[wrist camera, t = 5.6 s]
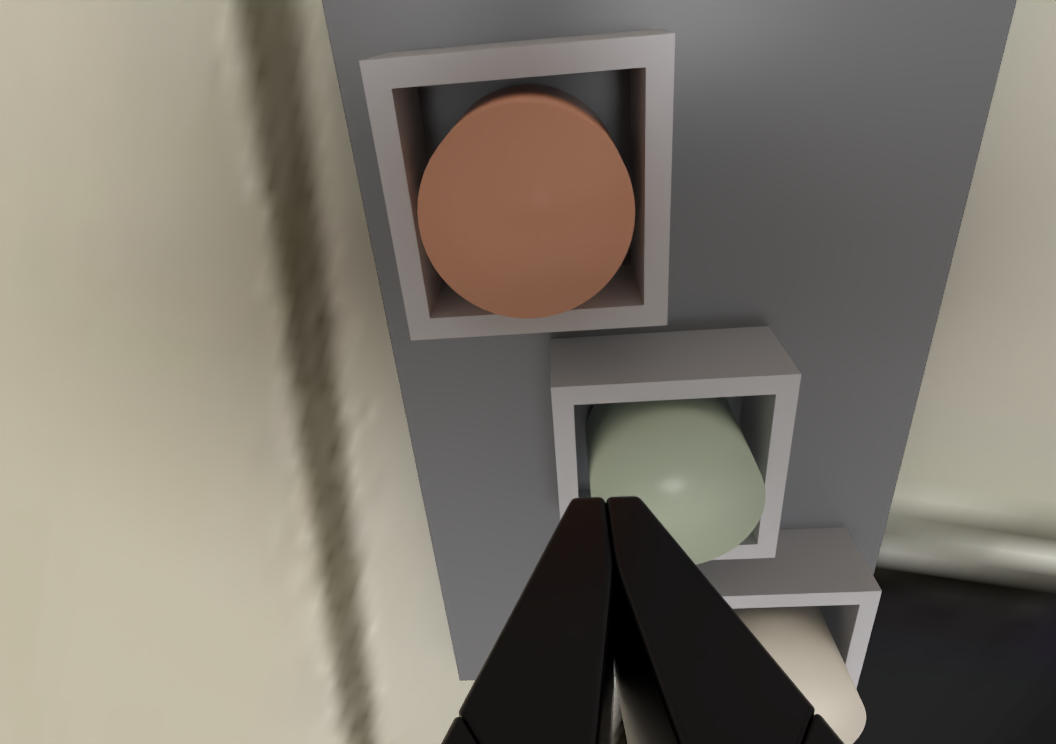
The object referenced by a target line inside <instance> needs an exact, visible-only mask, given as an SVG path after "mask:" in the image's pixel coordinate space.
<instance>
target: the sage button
mask: <svg viewBox="0 0 1056 744" xmlns="http://www.w3.org/2000/svg"><path fill="white" fill-rule="evenodd" d="M586 445H587V456H588V468H589V479H590V490H591V497H601V498H603V499H604V500H605V503H606V500H607V499H608V498H609V497H618V496H637V497H639V498H640V499H641V500H642V501H643V502H644V503H645V504H646V505H647V507H648V508H649V509H650V510H651V511H652V513H653V514H654V515H655V516H656V518H657V519H658V520H659V521H660V522H661V524H662V525H663V526H664V527H665V528H666V530H667V531H668V532H669V533H670V534H671V536H672V537H673V538H674V539H675V540H676V542H677V543H678V544H679V545H680V546H681V548H682V549H683V550H684V551H685V552H686V554H687V555H688V556H689V557H690V558H691V560H692V561H693V562H694V563H695V565H697V564H700V563H704V562H707V561H710V560H713V559H715V558H718V557H720V556H722V555H724V554H726V553H727V552H729V551H730V550H732V549H734V548H735V547H736V546H738V545H739V544H740V543H741V542H743V541H744V540H745V539H746V538H747V537H748V536H749V535H750V533H751V532H752V531H753V529H754V528H755V527H756V525H757V523H758V522H759V520H760V518H761V515H762V513H763V510H764V505H765V496H766V492H765V484H764V481H763V478H762V475H761V473H760V471H759V468H758V466H757V464H756V462H755V460H754V458H753V455H752V453H751V451H750V449H749V447H748V444H747V442H746V440H745V438H744V436H743V433H742V431H741V429H740V427H739V425H738V422H737V420H736V418H735V416H734V414H733V411H732V409H731V407H730V405H729V403H728V401H727V399H726V397H715V398H696V399H677V400H658V401H639V402H620V403H601V404H594V406H593V408H592V410H591V412H590V414H589V417H588V420H587V425H586Z"/></svg>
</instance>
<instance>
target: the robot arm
mask: <svg viewBox="0 0 1056 744" xmlns="http://www.w3.org/2000/svg"><path fill="white" fill-rule="evenodd" d="M614 667H615V677H616V684H617V690H618V696H619V702H620V707H621V712H622V717H623V722H624V727H625V732H626V737H627V743H628V744H844V743H843V741H842V740H841V739H840V738H839V737H838V735H837V734H836V733H835V732H834V730H833V729H832V728H831V727H830V726H829V724H828V723H827V722H826V721H825V719H824V718H823V717H822V716H821V715H819V714H815V715H814V712H815V709H814V707H813V705H812V704H811V703H810V702H809V701H808V699H807V698H806V697H805V696H804V695H803V693H802V692H801V691H800V690H799V689H798V687H797V686H796V685H795V684H794V683H793V681H792V680H791V679H790V678H789V677H788V675H787V674H786V673H785V672H784V671H783V669H782V668H781V667H780V666H779V665H778V663H777V662H776V661H775V660H774V658H773V657H772V656H771V655H770V654H769V652H768V651H767V650H766V649H765V648H764V646H763V645H762V644H761V643H760V642H759V640H758V639H757V638H756V637H755V636H754V634H753V633H752V632H751V631H750V630H749V628H748V627H747V626H746V625H745V624H744V622H743V621H742V620H741V619H740V618H739V616H738V615H737V614H736V613H735V611H734V610H733V609H732V608H731V607H730V605H729V604H728V603H727V602H726V601H725V599H724V598H723V597H722V596H721V595H720V593H719V592H718V591H717V590H716V589H715V587H714V586H713V585H712V584H711V583H710V581H709V580H708V579H707V578H706V577H705V575H704V574H703V573H702V572H701V571H700V569H699V568H698V567H697V566H696V565H695V563H694V562H693V561H692V560H691V558H690V557H689V556H688V555H687V554H686V552H685V551H684V550H683V549H682V548H681V546H680V545H679V544H678V543H677V542H676V540H675V539H674V538H673V537H672V536H671V534H670V533H669V532H668V531H667V530H666V528H665V527H664V526H663V525H662V524H661V522H660V521H659V520H658V519H657V518H656V516H655V515H654V514H653V513H652V511H651V510H650V509H649V508H648V507H647V505H646V504H645V503H644V502H643V501H642V500H641V499H640V498H639V497H637V496H618V497H609V498H608V499H607V500H606V503H605V500H604V499H603V498H601V497H584V498H574V499H572V500H571V501H570V503H569V505H568V507H567V508H566V510H565V512H564V514H563V516H562V518H561V520H560V522H559V524H558V525H557V527H556V529H555V531H554V533H553V535H552V537H551V539H550V541H549V542H548V544H547V546H546V548H545V550H544V552H543V554H542V556H541V557H540V559H539V561H538V563H537V565H536V567H535V569H534V571H533V573H532V574H531V576H530V578H529V580H528V582H527V584H526V586H525V588H524V590H523V591H522V593H521V595H520V597H519V599H518V601H517V603H516V605H515V607H514V608H513V610H512V612H511V614H510V616H509V618H508V620H507V622H506V623H505V625H504V627H503V629H502V631H501V633H500V635H499V637H498V639H497V640H496V642H495V644H494V646H493V648H492V650H491V652H490V654H489V656H488V657H487V659H486V661H485V663H484V665H483V667H482V669H481V671H480V672H479V674H478V676H477V678H476V680H475V682H474V684H473V686H472V688H471V689H470V691H469V693H468V695H467V697H466V699H465V701H464V703H463V705H462V706H461V708H460V710H459V717H456V718H455V719H454V721H453V723H452V725H451V726H450V728H449V730H448V732H447V734H446V736H445V738H444V740H443V742H442V743H441V744H612V724H613V703H614Z"/></svg>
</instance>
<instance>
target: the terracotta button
mask: <svg viewBox="0 0 1056 744" xmlns="http://www.w3.org/2000/svg"><path fill="white" fill-rule="evenodd" d="M417 214H418V225H419V230H420V235H421V239H422V242H423V245H424V248H425V250H426V253H427V255H428V257H429V259H430V261H431V263H432V265H433V266H434V268H435V269H436V271H437V272H438V273H439V275H440V276H441V278H442V279H443V280H444V281H445V282H446V283H447V284H448V285H449V286H450V287H451V288H452V289H453V290H454V291H455V292H456V293H457V294H459V295H460V296H461V297H463V298H464V299H466V300H467V301H469V302H470V303H472V304H474V305H476V306H478V307H480V308H481V309H484V310H486V311H489V312H492V313H494V314H498V315H502V316H507V317H514V318H541V317H548V316H552V315H556V314H560V313H563V312H565V311H568V310H571V309H573V308H575V307H577V306H579V305H581V304H582V303H584V302H586V301H587V300H589V299H590V298H591V297H593V296H594V295H596V294H597V293H598V292H599V291H600V290H601V289H602V288H603V287H604V286H605V285H606V284H607V283H608V282H609V281H610V280H611V278H612V277H613V276H614V275H615V273H616V272H617V270H618V269H619V267H620V266H621V264H622V262H623V260H624V258H625V256H626V254H627V251H628V248H629V246H630V243H631V240H632V235H633V230H634V224H635V199H634V193H633V188H632V183H631V180H630V177H629V175H628V172H627V169H626V167H625V165H624V163H623V161H622V159H621V157H620V155H619V152H618V150H617V148H616V146H615V144H614V142H613V140H612V138H611V136H610V134H609V132H608V130H607V128H606V127H605V125H604V124H603V122H602V121H601V120H600V118H599V117H598V116H597V115H596V114H595V113H594V112H593V110H592V109H591V108H589V107H588V106H587V105H586V104H585V103H583V102H582V101H581V100H579V99H578V98H576V97H574V96H573V95H571V94H569V93H567V92H564V91H562V90H560V89H557V88H553V87H549V86H544V85H537V84H522V85H516V86H510V87H506V88H503V89H500V90H497V91H495V92H493V93H491V94H489V95H487V96H485V97H483V98H482V99H480V100H479V101H477V102H476V103H475V104H474V105H473V106H471V107H470V108H469V109H468V110H467V111H466V112H465V113H464V114H463V116H462V117H461V118H460V119H459V120H458V122H457V123H456V124H455V125H454V127H453V128H452V129H451V130H450V132H449V133H448V134H447V136H446V137H445V138H444V139H443V141H442V142H441V143H440V145H439V146H438V147H437V149H436V150H435V152H434V154H433V155H432V157H431V158H430V160H429V163H428V165H427V167H426V169H425V171H424V174H423V178H422V181H421V184H420V189H419V195H418V209H417Z"/></svg>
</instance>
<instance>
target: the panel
mask: <svg viewBox="0 0 1056 744" xmlns="http://www.w3.org/2000/svg"><path fill="white" fill-rule="evenodd" d="M322 3H323V8H324V13H325V18H326V23H327V28H328V33H329V38H330V43H331V48H332V53H333V57H334V62H335V67H336V72H337V77H338V82H339V87H340V92H341V97H342V102H343V107H344V112H345V117H346V122H347V127H348V131H349V136H350V141H351V146H352V151H353V156H354V161H355V166H356V171H357V176H358V181H359V186H360V191H361V196H362V200H363V205H364V210H365V215H366V220H367V225H368V230H369V235H370V240H371V245H372V250H373V255H374V260H375V265H376V269H377V274H378V279H379V284H380V289H381V294H382V299H383V304H384V309H385V314H386V319H387V324H388V329H389V334H390V339H391V343H392V348H393V353H394V358H395V363H396V368H397V373H398V378H399V383H400V388H401V393H402V398H403V403H404V408H405V412H406V417H407V422H408V427H409V432H410V437H411V442H412V447H413V452H414V457H415V462H416V467H417V472H418V477H419V481H420V486H421V491H422V496H423V501H424V506H425V511H426V516H427V521H428V526H429V531H430V536H431V541H432V546H433V551H434V555H435V560H436V565H437V570H438V575H439V580H440V585H441V590H442V595H443V600H444V605H445V610H446V615H447V620H448V624H449V629H450V634H451V639H452V644H453V649H454V654H455V659H456V664H457V669H458V674H459V679H460V681H461V680H476V678H477V676H478V674H479V672H480V671H481V669H482V667H483V665H484V663H485V661H486V659H487V657H488V656H489V654H490V652H491V650H492V648H493V646H494V644H495V642H496V640H497V639H498V637H499V635H500V633H501V631H502V629H503V627H504V625H505V623H506V622H507V620H508V618H509V616H510V614H511V612H512V610H513V608H514V607H515V605H516V603H517V601H518V599H519V597H520V595H521V593H522V591H523V590H524V588H525V586H526V584H527V582H528V580H529V578H530V576H531V574H532V573H533V571H534V569H535V567H536V565H537V563H538V561H539V559H540V557H541V556H542V554H543V552H544V550H545V548H546V546H547V544H548V542H549V541H550V539H551V537H552V535H553V533H554V531H555V529H556V527H557V525H558V524H559V522H560V520H561V518H562V516H563V514H564V512H565V510H566V508H567V507H568V505H569V503H570V501H571V500H572V499H574V498H584V497H591V490H590V479H589V468H588V456H587V445H586V425H587V420H588V417H589V414H590V412H591V410H592V408H593V406H594V404H601V403H620V402H639V401H658V400H677V399H696V398H715V397H726V399H727V401H728V403H729V405H730V407H731V409H732V411H733V414H734V416H735V418H736V420H737V422H738V425H739V427H740V429H741V431H742V433H743V436H744V438H745V440H746V442H747V444H748V447H749V449H750V451H751V453H752V455H753V458H754V460H755V462H756V464H757V466H758V468H759V471H760V473H761V475H762V478H763V481H764V484H765V492H766V496H765V505H764V510H763V513H762V515H761V518H760V520H759V522H758V523H757V525H756V527H755V528H754V529H753V531H752V532H751V533H750V535H749V536H748V537H747V538H746V539H745V540H744V541H743V542H741V543H740V544H739V545H738V546H736V547H735V548H734V549H732V550H730V551H729V552H727V553H726V554H724V555H722V556H720V557H718V558H715V559H713V560H710V561H707V562H704V563H700V564H697V565H696V566H697V567H698V568H699V569H700V571H701V572H702V573H703V574H704V575H705V577H706V578H707V579H708V580H709V581H710V583H711V584H712V585H713V586H714V587H715V589H716V590H717V591H718V592H719V593H720V595H721V596H722V597H723V598H724V599H725V601H726V602H727V603H728V604H729V605H730V607H731V608H732V609H737V608H767V607H797V606H818V608H819V609H820V611H821V613H822V615H823V617H824V619H825V621H826V624H827V626H828V628H829V630H830V632H831V635H832V637H833V639H834V641H835V644H836V646H837V648H838V650H839V652H840V655H841V657H842V659H843V661H844V663H845V666H846V668H847V670H848V672H849V675H850V677H851V679H852V681H853V683H854V686H855V688H857V684H858V680H859V676H860V673H861V669H862V665H863V661H864V657H865V653H866V650H867V646H868V642H869V638H870V634H871V631H872V627H873V623H874V619H875V615H876V612H877V608H878V604H879V600H880V596H881V592H882V590H881V589H880V587H879V585H878V583H877V582H876V580H875V578H874V576H873V575H874V571H875V567H876V563H877V559H878V555H879V551H880V546H881V542H882V538H883V534H884V530H885V526H886V522H887V518H888V514H889V510H890V506H891V502H892V498H893V494H894V490H895V486H896V482H897V478H898V474H899V470H900V466H901V462H902V458H903V454H904V450H905V446H906V442H907V438H908V434H909V430H910V426H911V422H912V418H913V414H914V410H915V406H916V402H917V398H918V394H919V390H920V386H921V382H922V378H923V374H924V370H925V366H926V362H927V358H928V354H929V350H930V346H931V342H932V338H933V334H934V330H935V326H936V322H937V318H938V314H939V310H940V306H941V302H942V298H943V294H944V289H945V285H946V281H947V277H948V273H949V269H950V265H951V261H952V257H953V253H954V249H955V245H956V241H957V237H958V233H959V229H960V225H961V221H962V217H963V213H964V209H965V205H966V201H967V197H968V193H969V189H970V185H971V181H972V177H973V173H974V169H975V165H976V161H977V157H978V153H979V149H980V145H981V141H982V137H983V133H984V129H985V125H986V121H987V117H988V113H989V109H990V105H991V101H992V97H993V93H994V89H995V85H996V81H997V77H998V73H999V69H1000V65H1001V61H1002V57H1003V53H1004V49H1005V45H1006V41H1007V36H1008V32H1009V28H1010V24H1011V20H1012V16H1013V12H1014V8H1015V4H1016V0H322ZM522 84H537V85H544V86H549V87H553V88H557V89H560V90H562V91H564V92H567V93H569V94H571V95H573V96H574V97H576V98H578V99H579V100H581V101H582V102H583V103H585V104H586V105H587V106H588V107H589V108H591V109H592V110H593V112H594V113H595V114H596V115H597V116H598V117H599V118H600V120H601V121H602V122H603V124H604V125H605V127H606V128H607V130H608V132H609V134H610V136H611V138H612V140H613V142H614V144H615V146H616V148H617V150H618V152H619V155H620V157H621V159H622V161H623V163H624V165H625V167H626V169H627V172H628V175H629V177H630V180H631V183H632V188H633V193H634V199H635V224H634V230H633V235H632V240H631V243H630V246H629V248H628V251H627V254H626V256H625V258H624V260H623V262H622V264H621V266H620V267H619V269H618V270H617V272H616V273H615V275H614V276H613V277H612V278H611V280H610V281H609V282H608V283H607V284H606V285H605V286H604V287H603V288H602V289H601V290H600V291H599V292H598V293H597V294H596V295H594V296H593V297H591V298H590V299H589V300H587V301H586V302H584V303H582V304H581V305H579V306H577V307H575V308H573V309H571V310H568V311H565V312H563V313H560V314H556V315H552V316H548V317H541V318H514V317H507V316H502V315H498V314H494V313H492V312H489V311H486V310H484V309H481V308H480V307H478V306H476V305H474V304H472V303H470V302H469V301H467V300H466V299H464V298H463V297H461V296H460V295H459V294H457V293H456V292H455V291H454V290H453V289H452V288H451V287H450V286H449V285H448V284H447V283H446V282H445V281H444V280H443V279H442V278H441V276H440V275H439V273H438V272H437V271H436V269H435V268H434V266H433V265H432V263H431V261H430V259H429V257H428V255H427V253H426V250H425V248H424V245H423V242H422V239H421V235H420V230H419V225H418V214H417V209H418V195H419V189H420V184H421V181H422V178H423V174H424V171H425V169H426V167H427V165H428V163H429V160H430V158H431V157H432V155H433V154H434V152H435V150H436V149H437V147H438V146H439V145H440V143H441V142H442V141H443V139H444V138H445V137H446V136H447V134H448V133H449V132H450V130H451V129H452V128H453V127H454V125H455V124H456V123H457V122H458V120H459V119H460V118H461V117H462V116H463V114H464V113H465V112H466V111H467V110H468V109H469V108H470V107H471V106H473V105H474V104H475V103H476V102H477V101H479V100H480V99H482V98H483V97H485V96H487V95H489V94H491V93H493V92H495V91H497V90H500V89H503V88H506V87H510V86H516V85H522ZM614 676H615V667H614Z"/></svg>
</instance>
